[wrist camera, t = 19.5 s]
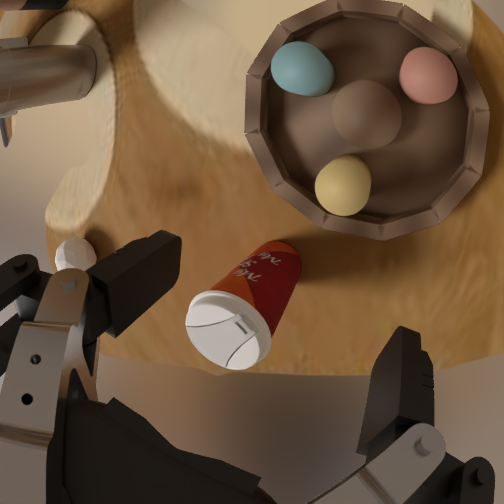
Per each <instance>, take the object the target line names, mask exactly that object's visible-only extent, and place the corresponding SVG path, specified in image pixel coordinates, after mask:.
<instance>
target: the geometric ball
mask: <svg viewBox="0 0 504 504" xmlns="http://www.w3.org/2000/svg"><path fill="white" fill-rule="evenodd" d="M96 260H97V257H96V254H95V251H94V248H93V246H92V245H91V244H90V243H89V242H88V241H87V240H85V239H82V238H79V237H76V236H74V237H72V238H69V239H67V240H65V241H64V242H63V243H62V244H61V245H60V246H59V247H58V248H57V252H56V257H55V263H56V266H57V269H58V271H60V270H62V269H66V268H77V269H81V270H83V271H85V270H87V269H88V268H90V267H91V266H93V265H95V264H96Z"/></svg>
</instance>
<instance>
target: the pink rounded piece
mask: <svg viewBox="0 0 504 504" xmlns="http://www.w3.org/2000/svg"><path fill="white" fill-rule="evenodd" d="M398 78H399V85H400V88H401V90H402V92H403V93H404V94H405V96H406V97H407V98H408V99H410V100H411V101H412V102H414V103H416V104H419V105H432V104H436V103H440V102H443V101H446V100H448V99H449V98H450V97H451V96H452V95H453V94H454V92H455V90H456V88H457V82H458V79H457V73H456V70H455V67H454V66H453V64H452V62H451V61H450V60H449V59H448V57H446V56H445V55H444V54H443V53H441V52H440V51H438V50H436V49H433V48H429V47H419V48H416V49H413V50H412V51H410V52H409V53H408V54H407V55H406V57H405V58H404V61H403V63H402V66H401V69H400V71H399V77H398Z"/></svg>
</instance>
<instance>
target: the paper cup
mask: <svg viewBox="0 0 504 504" xmlns="http://www.w3.org/2000/svg"><path fill="white" fill-rule="evenodd" d="M301 267H302V265H301V259H300V257H299V255H298V253H297V252H296V251H295V249H293V248H292V247H291V246H290V245H288V244H286V243H284V242H280V241H271V242H267V243H265V244H263V245H262V246H261V247H259V248H258V249H257V250H256V251H254V252H253V253H252V254H251V255H249V256H248V257H247V258H246V259H245V260H244V261H242V262H241V263H240V264H239V265H238V266H237V267H235V268H234V269H233V270H232V271H231V272H230V273H228V274H227V275H226V276H225V277H224V278H223V279H221V280H220V281H219V282H218V283H217V284H216V285H214V286H213V287H212V288H211V289H210V290H208V291H205V292H202V293H200V294H199V295H197V296H196V297H195V298H194V299H193V300H192V302H191V303H190V306H189V311H188V313H187V317H186V323H185V324H186V329H187V332H188V335H189V338H190V340H191V341H192V343H193V344H194V346H195V347H196V348H197V349H198V350H199V352H201V353H202V354H203V355H204V356H205V357H206V358H207V359H209V360H210V361H212V362H214V363H216V364H218V365H220V366H222V367H225V368H228V369H233V370H241V369H246V368H249V367H251V366H253V365H254V364H255V363H257V362H259V361H261V360H263V359H264V358H265V357H266V356H267V354H268V353H269V351H270V348H271V343H272V341H271V338H272V336H273V334H274V332H275V330H276V328H277V325H278V323H279V321H280V319H281V317H282V315H283V312H284V310H285V308H286V306H287V304H288V301H289V299H290V297H291V295H292V292H293V290H294V288H295V285H296V283H297V281H298V278H299V276H300V273H301Z"/></svg>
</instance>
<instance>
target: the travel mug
mask: <svg viewBox="0 0 504 504" xmlns="http://www.w3.org/2000/svg"><path fill="white" fill-rule="evenodd" d="M67 1H68V0H0V11H11V10H40V9H60V8H62V7H63V6H64V5H65V4H66V3H67Z"/></svg>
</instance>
